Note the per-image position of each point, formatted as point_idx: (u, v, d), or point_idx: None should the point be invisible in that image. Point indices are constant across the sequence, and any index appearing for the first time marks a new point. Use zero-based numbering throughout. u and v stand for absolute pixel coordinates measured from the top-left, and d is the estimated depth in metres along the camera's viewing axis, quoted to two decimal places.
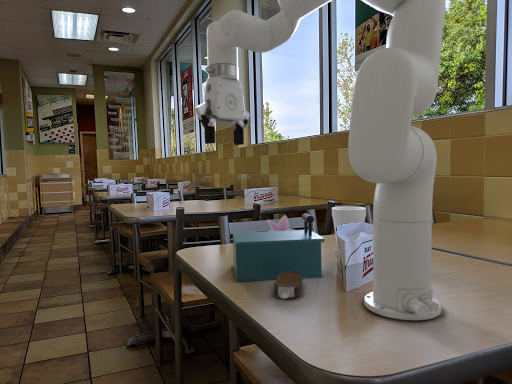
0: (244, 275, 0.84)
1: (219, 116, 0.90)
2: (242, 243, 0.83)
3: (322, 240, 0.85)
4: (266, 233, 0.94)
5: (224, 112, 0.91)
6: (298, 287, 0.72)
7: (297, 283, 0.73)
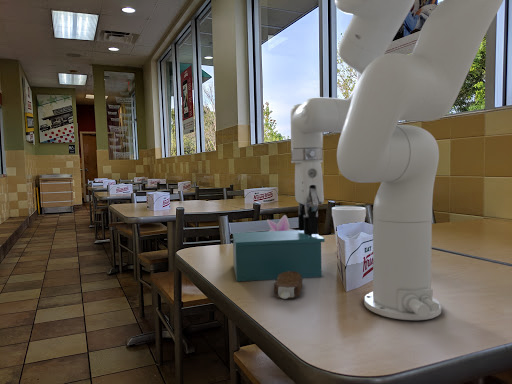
0: (244, 275, 0.84)
1: (322, 202, 0.87)
2: (242, 243, 0.83)
3: (322, 240, 0.85)
4: (266, 233, 0.94)
5: None
6: (298, 287, 0.72)
7: (297, 283, 0.73)
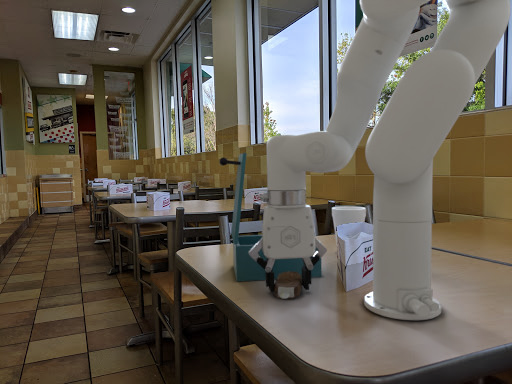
0: (244, 275, 0.84)
1: (270, 257, 0.72)
2: (236, 237, 0.83)
3: (244, 155, 0.82)
4: None
5: (278, 251, 0.71)
6: (298, 287, 0.72)
7: (297, 283, 0.73)
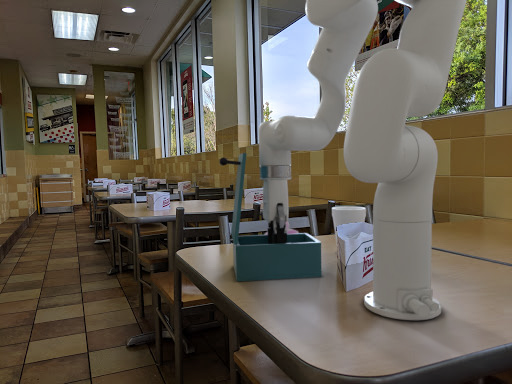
0: (244, 275, 0.84)
1: None
2: (236, 237, 0.83)
3: (244, 155, 0.82)
4: None
5: (263, 213, 0.92)
6: None
7: None
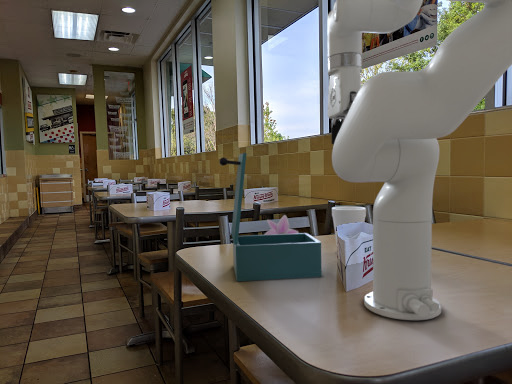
0: (244, 275, 0.84)
1: None
2: (236, 237, 0.83)
3: (244, 155, 0.82)
4: None
5: (329, 111, 0.88)
6: None
7: None
